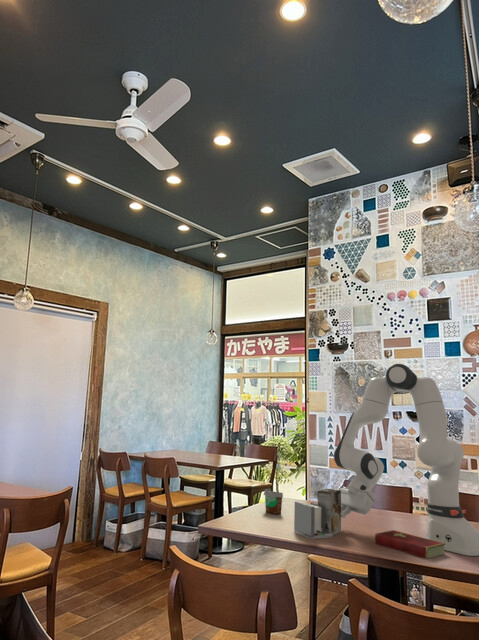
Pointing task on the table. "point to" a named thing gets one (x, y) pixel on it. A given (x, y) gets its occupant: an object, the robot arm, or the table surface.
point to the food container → (273, 502)
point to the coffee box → (331, 509)
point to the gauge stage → (319, 517)
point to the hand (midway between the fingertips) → (340, 516)
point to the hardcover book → (410, 544)
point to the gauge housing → (306, 521)
